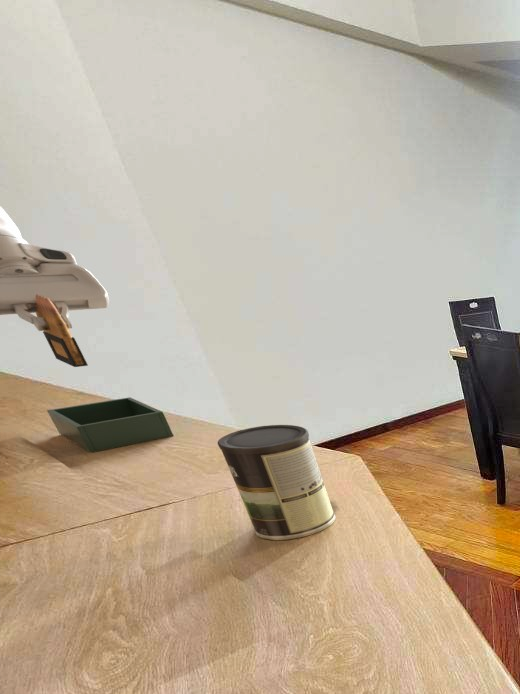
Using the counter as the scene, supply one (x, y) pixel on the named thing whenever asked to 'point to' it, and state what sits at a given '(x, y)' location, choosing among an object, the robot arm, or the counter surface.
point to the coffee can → (278, 481)
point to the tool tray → (110, 423)
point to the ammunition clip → (59, 334)
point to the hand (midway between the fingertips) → (55, 327)
